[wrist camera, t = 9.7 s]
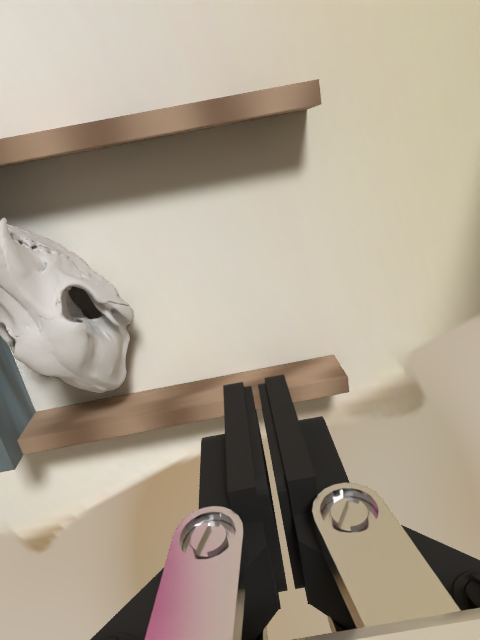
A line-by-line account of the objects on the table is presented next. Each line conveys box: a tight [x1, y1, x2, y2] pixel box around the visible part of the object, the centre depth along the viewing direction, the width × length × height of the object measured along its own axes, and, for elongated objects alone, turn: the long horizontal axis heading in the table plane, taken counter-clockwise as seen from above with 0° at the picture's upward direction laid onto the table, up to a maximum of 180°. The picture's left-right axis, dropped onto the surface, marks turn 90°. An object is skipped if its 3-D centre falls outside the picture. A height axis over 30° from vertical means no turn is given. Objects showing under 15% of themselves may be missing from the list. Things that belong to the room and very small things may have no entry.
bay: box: [0, 79, 349, 472], centre depth 28 cm, size 24×19×5 cm
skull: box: [0, 218, 134, 393], centre depth 27 cm, size 8×9×12 cm
